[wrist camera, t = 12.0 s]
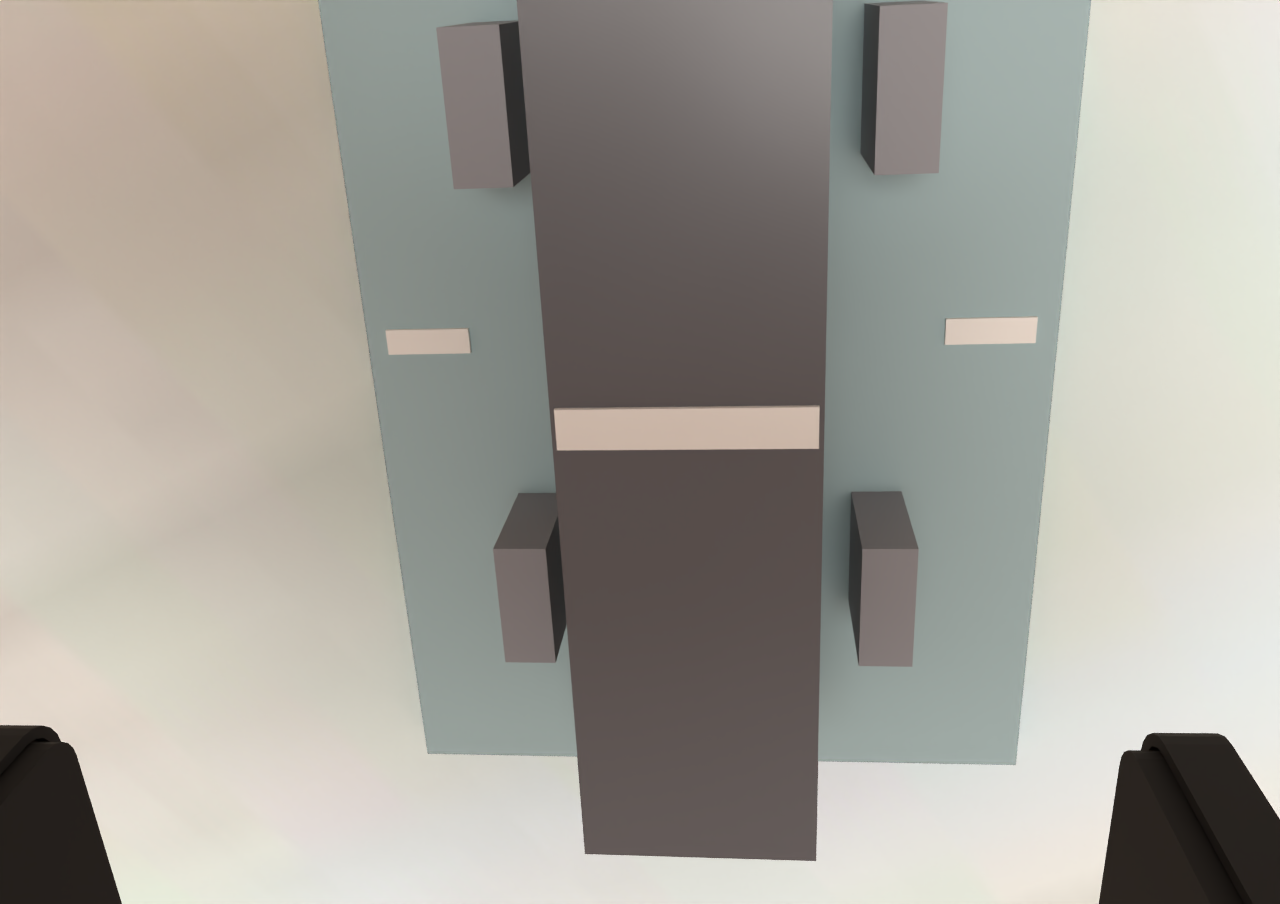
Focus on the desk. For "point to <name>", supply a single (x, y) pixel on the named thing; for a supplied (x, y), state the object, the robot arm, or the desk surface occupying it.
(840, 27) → the base
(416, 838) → the desk surface
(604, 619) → the dark gray block
